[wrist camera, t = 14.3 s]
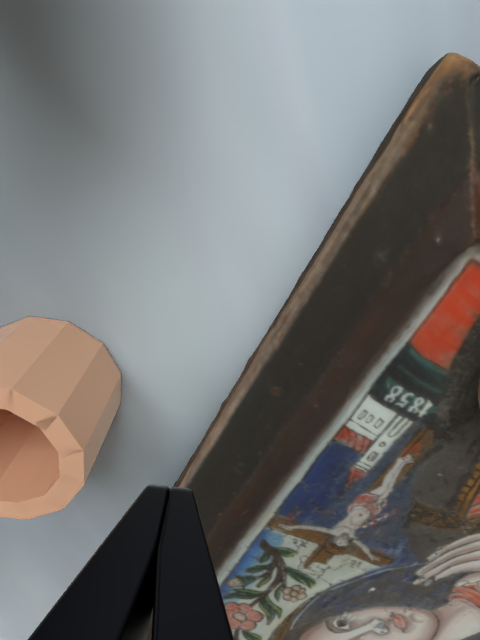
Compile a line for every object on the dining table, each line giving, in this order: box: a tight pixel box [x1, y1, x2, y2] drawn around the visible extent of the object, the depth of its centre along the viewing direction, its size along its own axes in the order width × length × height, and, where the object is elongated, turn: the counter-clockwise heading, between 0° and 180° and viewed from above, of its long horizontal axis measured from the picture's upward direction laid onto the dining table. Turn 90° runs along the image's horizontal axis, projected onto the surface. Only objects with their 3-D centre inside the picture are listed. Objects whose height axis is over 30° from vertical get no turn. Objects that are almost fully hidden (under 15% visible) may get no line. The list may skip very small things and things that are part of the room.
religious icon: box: [146, 53, 480, 640], centre depth 27 cm, size 40×45×3 cm
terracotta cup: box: [0, 316, 122, 520], centre depth 20 cm, size 7×7×6 cm
